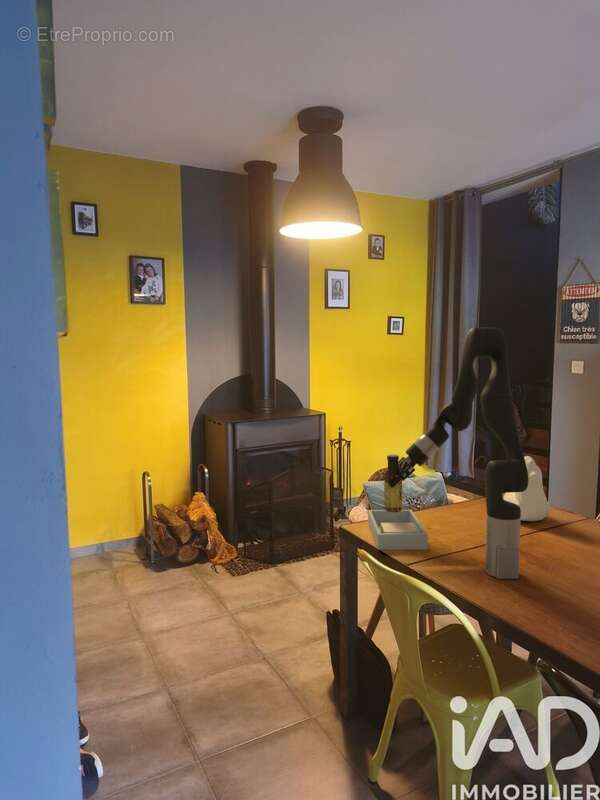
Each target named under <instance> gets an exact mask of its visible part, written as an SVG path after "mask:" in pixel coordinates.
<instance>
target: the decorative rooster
mask: <svg viewBox="0 0 600 800" xmlns="http://www.w3.org/2000/svg"><path fill="white" fill-rule="evenodd" d="M524 458H525V462H526V466H527V471H528V487H527V489H526V490H525V491H523V492H510V493H504V494H503V495H504V496H503V499H504V500H505V501H508V502H511V503H514V504H516V505H518V506H519V507H520V509H521V521H526V522H536V521H537V522H538V521H541V520H543V519H545V517H546V516H548V515H550V513H551V504H550V503H549V502H548V500H547V496H546V494H545V492H544V491H545V490H544V486H543V474H542V470H541V469H540V467H539V466H538V465H537V463H536V462H535V460H534V458H532V456H528V455H524Z"/></svg>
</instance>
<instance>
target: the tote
mask: <svg viewBox="0 0 600 800" xmlns="http://www.w3.org/2000/svg"><path fill="white" fill-rule="evenodd" d="M381 523H413V524H414V526H415V527H416V529H417V530H418V533H380V526H381ZM367 524H368V527H369V530H370V532H371V534H372V538H373V540H374V543H375V545H376V549H377V550H378V551H379V550H381V551H383V550H385V551H387V550H388V551H389V550H391V551H393V550H394V551H396V550H405V551H406V550H409V551H410V550H428V541H429V540H428V539H429V538H428V537H429V535H428V532H427V531H426V529H425V527H423V525H422V523H421V522H420V521H419V519H418V518H417V516H416V514H415V513H414V512H413V510H412V509H402V510H401V511H400V512H388V511H386V510H385V509H368V510H367Z"/></svg>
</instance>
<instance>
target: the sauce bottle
mask: <svg viewBox="0 0 600 800" xmlns="http://www.w3.org/2000/svg"><path fill="white" fill-rule="evenodd" d="M386 459H387V469H386V471H385V472H384V482H383V483H384V484H383V486H384V487H383V488H384V492H383V493H384V498H383V499H384V510H386V511H388V512H400V511H401V510H403V481H399V482H398V483H397V484H396V485H395V486H394V487H393V488H391V487H390V486H389V484H388V483H389V482H390V481H391V480H392V479H393V478H394V477H395V476H396V474H397V473H398V472H399V471H398V470H399V466H398V461H399V460H400V456H399V455H398V454H387V455H386Z"/></svg>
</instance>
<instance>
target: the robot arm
mask: <svg viewBox="0 0 600 800" xmlns="http://www.w3.org/2000/svg"><path fill="white" fill-rule="evenodd" d="M506 340H507V339H506V336H505V333H504V331H503V330H502V329H501V328H499V327H482V326H480V327H479V326H478V327H472V328H470V329H469V331H468V332H467V334H466V336H465V340H464V345H463V351H462V356H461V361H460V366H459V372H458V373H459V374H458V377H457V381H456V384H455V387H454V391H453V393H452V396H451V402H449V403H447V404H446V405H445V406H443V407H442V409H441V410H440V412H439V413H438V415H437V417H436V419H435V420H434V423H433V424H432V425H431V426H430V428H428V430H426V432H424V434H422V435H421V436H419V437H418V438H417V439H416V440H415V441H414V442H413V443H412V444H411V445H410V446H409V447H408V448H407V449H406V450H405V454H406V455H408V456H407V457H405V456H401V458H399V460H398V466H399V470H398V471H399V472H398V473H397V474H396V476H395V477H394V478H393V479H392V480H391V481H390V482H389V483H388V484H389V486H390V487H391V488H393V487H394V486H395V485H396V484H397V483H398V482H399V481H402V482H404V481H405V480H407V478H408V477H410V476H411V475H412V474H413V473H414V472H415V471H416V469H415V466H416V465H417V466H419V467H423V466H424V464H425V463H426V462H427V461H429V459H430V458H431V457H432V456H434V455H435V453H437V451H438V450H439V448H440V447H442V445H444V444H445V443H446V442H447V440H448V439H449V438H450V436H449V435H450V434H449V433H448V431H447V430H446V429H445V426H446V424H448V425H449V426H451V428H453V429H454V430H455V431H457V432H463V431H465V430H467V429H468V428H469V426H470V425H471V423H472V419H473V418H472V417H473V402H474V400H475V397H476V395H477V392H478V388H479V381H478V378H477V375H476V372H475V369H474V363H475V360H476V358H489V359H490V361H491V372H490V374H489V378H488V379H487V381H486V383H485V385H484V387H483V389H482V391H481V393H480V407H481V408H480V409H481V415H482V418H483V421H484V422H485V425H486V426H487V427H488V429H489V430H490V431H491V433H493V435H494V436H495V437H496V438H497V440H498V441H499V442H500V444H501V445H502V447H503V448H504V449H503V450H504V451H505V455H506V457H507V458H506V459H499V460H498V459H497V460H490V461H489V462H488V463H486V467H485V471H484V474H485V475H484V477H485V503H486V504H485V506H486V523H485V524H486V525H485V526H486V528H485V529H486V530H485V559H484V560H485V564H484V568H485V569H484V570H485V572H486V574H487V575H489V576H492V577H494V578H496V579H497V580H506V579H508V580H509V579H510V580H515V579H517V580H518V579H519V575H520V572H519V571H520V551H521V550H520V549H521V548H520V547H521V545H520V544H521V521H522V520H521V509H520V507H519V506H518V505H516V504H514V503H511V502H508V501H505V500H504V496H503V495H504V494H505V493H510V492H523V491H525V490H526V489H527V487H528V471H527V466H526V462H525V458H524V457H525V455H524V452H523V448H522V445H521V444H522V443H521V439H520V436H519V431H518V430H519V429H518V424H517V418H516V409H515V404H514V403H515V402H514V398H513V392H512V388H511V383H510V375H509V366H508V364H509V363H508V353H507V352H508V350H507V342H506ZM503 493H504V494H503Z"/></svg>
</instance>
